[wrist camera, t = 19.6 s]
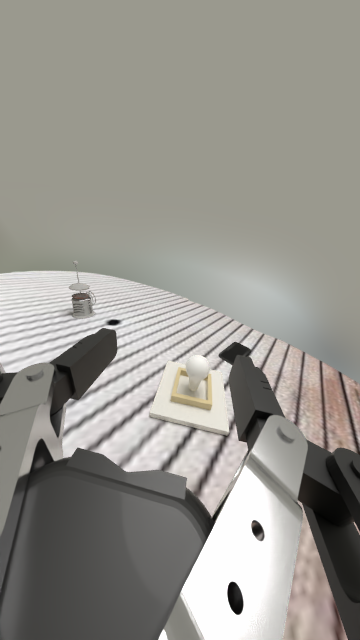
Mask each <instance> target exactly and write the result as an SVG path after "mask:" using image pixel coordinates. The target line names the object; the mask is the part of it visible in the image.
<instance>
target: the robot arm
mask: <svg viewBox="0 0 360 640" xmlns="http://www.w3.org/2000/svg"><path fill="white" fill-rule="evenodd" d="M116 353H117V339H116V331H115V330H111V329H106V328H102V329H101V330H99V331H98V332H97V333H95V334H92V335H89V336H87V337H85V338H83V339H82V340H80V341H79V342H78V343H76V344H75V345H74V346H73V347H71V348H69V349H68V350H67V351H65V352H64V353H63V354H61V355H60V356H58V357H57V358H56V359H54V360H53V361H52V362H50V363H39V364H34V365H31V366H29V367H27V368H25V369H23V370H21V371H20V372H18V373H5V371H4V369H3V367H2V365H1V363H0V640H282V639H283V633H284V627H285V621H286V615H287V610H288V604H289V598H290V592H291V586H292V580H293V574H294V568H295V562H296V556H297V550H298V544H299V538H300V532H301V526H302V520H303V512H302V508H301V506H300V505H299V504H298V502H297V500H298V501H300V502H301V503H302V505H303V507H304V510H305V513H306V516H307V519H308V522H309V525H310V528H311V531H312V534H313V537H314V540H315V543H316V546H317V549H318V552H319V555H320V558H321V561H322V564H323V567H324V570H325V573H326V576H327V579H328V582H329V585H330V588H331V591H332V594H333V597H334V600H335V602H336V605H337V608H338V611H339V614H340V617H341V620H342V623H343V626H344V629H345V632H346V635H347V638H348V640H360V535H359V533H358V531H357V529H356V527H355V525H354V523H353V522H355V523H356V525H357V527H358V529H359V531H360V455H358V454H357V453H355V452H353V451H351V450H348V449H345V448H337V449H336V450H335V451H334V452H333V453H331V452H329V451H327V450H325V449H323V448H321V447H319V446H317V445H316V444H314V443H312V442H310V441H308V440H306V438H305V436H304V435H303V433H302V432H301V431H300V429H299V428H298V427H297V426H296V425H295V424H294V423H292V422H291V421H290V420H288V419H286V418H285V416H284V414H283V412H282V410H281V408H280V406H279V403H278V401H277V399H276V397H275V395H274V393H273V391H272V388H271V386H270V384H269V382H268V380H267V378H266V375H265V374H264V373H263V372H262V371H261V370H260V369H259V368H258V367H254V364H253V362H252V359H251V358H250V357H245V356H240V355H237V356H236V358H235V361H234V363H233V366H232V369H231V372H230V375H229V386H230V391H231V397H232V403H233V409H234V415H235V421H236V427H237V433H238V439H239V441H243V442H247V446H248V451H247V453H246V455H245V456H244V458H243V460H242V462H241V464H240V466H239V468H238V470H237V471H236V473H235V475H234V477H233V479H232V481H231V483H230V485H229V486H228V488H227V490H226V492H225V494H224V495H223V497H222V499H221V500H220V502H219V504H218V506H217V508H216V510H215V511H214V513H213V515H212V517H211V515H210V514H209V512H208V511H207V509H206V508H205V506H204V505H203V503H202V502H201V501H200V500H199V499H198V497H197V496H196V495H195V494H193V493H192V492H191V491H190V490H189V489H187V488H186V481H187V478H186V477H182V476H179V475H175V474H171V473H168V472H164V471H161V470H152V471H139V472H126V471H124V470H123V469H121V468H120V467H119V466H117V465H116V464H115V463H113V462H112V461H111V460H109V459H108V458H107V457H105V456H104V455H102V454H99V453H95V452H92V451H88V450H84V449H81V448H77V449H76V451H75V452H74V454H73V455H72V457H68V458H63V450H62V438H63V429H64V421H65V413H66V402H67V401H68V400H69V399H70V398H71V399H75V400H79V399H80V398H81V397H82V396H83V394H84V393H85V392H86V391H87V390H88V388H89V387H90V386H91V385H92V384H93V383H94V381H95V380H96V379H97V378H98V377H99V375H100V374H101V373H102V372H103V371H104V370H105V368H106V367H107V366H108V365H109V364H110V362H111V361H112V360H113V359H114V358H115V356H116Z"/></svg>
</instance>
